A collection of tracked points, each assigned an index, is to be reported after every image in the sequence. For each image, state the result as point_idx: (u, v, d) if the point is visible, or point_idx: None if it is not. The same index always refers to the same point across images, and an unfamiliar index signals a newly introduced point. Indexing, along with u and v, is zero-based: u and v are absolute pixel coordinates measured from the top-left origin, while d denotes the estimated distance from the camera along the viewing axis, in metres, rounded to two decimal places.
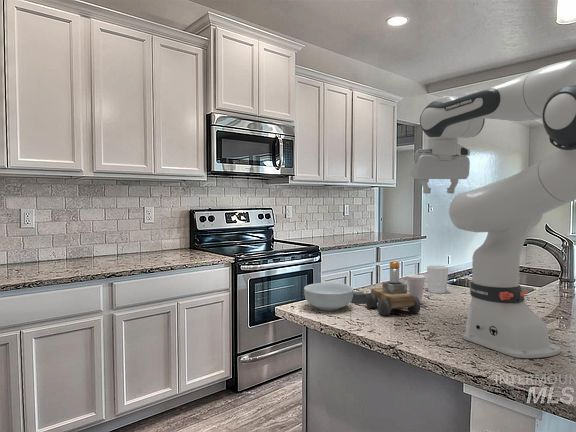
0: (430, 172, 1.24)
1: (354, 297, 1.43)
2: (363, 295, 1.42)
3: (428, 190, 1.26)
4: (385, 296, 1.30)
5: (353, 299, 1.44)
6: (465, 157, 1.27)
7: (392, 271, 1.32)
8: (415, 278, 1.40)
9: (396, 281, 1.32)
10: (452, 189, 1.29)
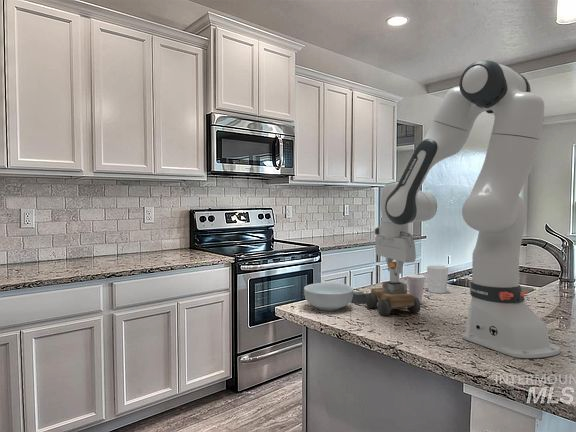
0: None
1: (354, 297, 1.43)
2: (363, 295, 1.42)
3: None
4: (385, 296, 1.30)
5: (353, 299, 1.44)
6: None
7: (392, 271, 1.32)
8: (415, 278, 1.40)
9: (396, 281, 1.32)
10: None
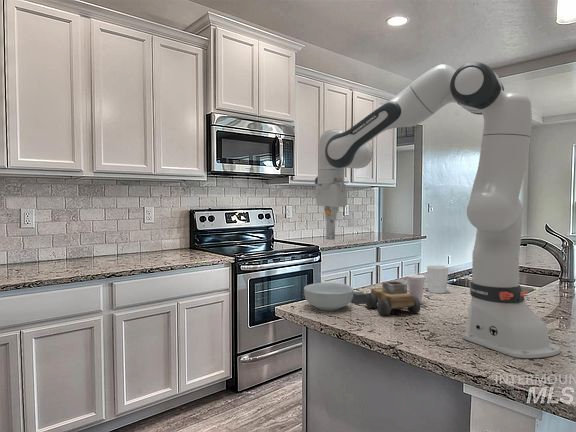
0: None
1: (354, 297, 1.43)
2: (363, 295, 1.42)
3: None
4: (385, 296, 1.30)
5: (353, 299, 1.44)
6: None
7: (328, 218, 1.35)
8: (415, 278, 1.40)
9: (332, 228, 1.35)
10: None
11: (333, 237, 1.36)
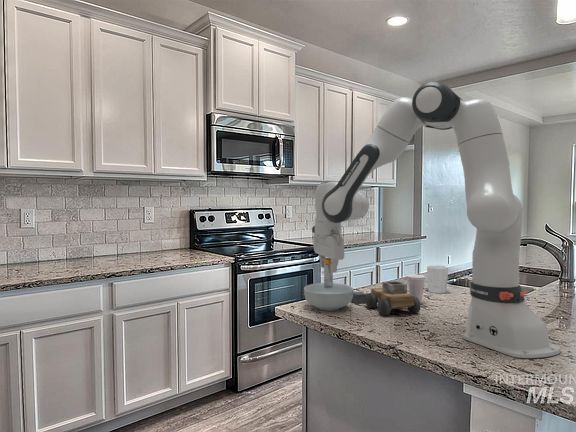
0: None
1: (354, 297, 1.43)
2: (363, 295, 1.42)
3: None
4: (385, 296, 1.30)
5: (353, 299, 1.44)
6: None
7: (325, 267, 1.36)
8: (415, 278, 1.40)
9: (329, 277, 1.36)
10: None
11: (331, 286, 1.36)
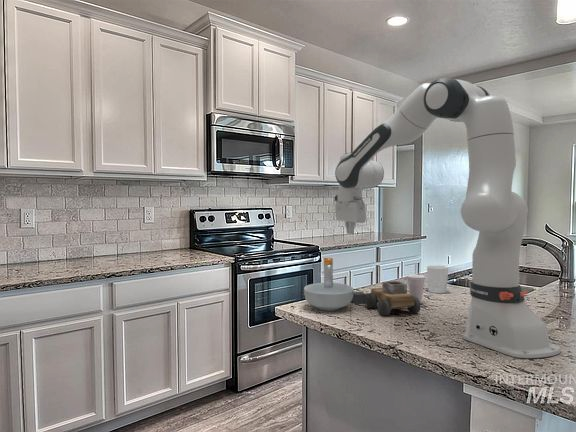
0: None
1: (354, 297, 1.43)
2: (363, 295, 1.42)
3: None
4: (385, 296, 1.30)
5: (353, 299, 1.44)
6: None
7: (325, 267, 1.36)
8: (415, 278, 1.40)
9: (329, 277, 1.36)
10: None
11: (331, 286, 1.36)
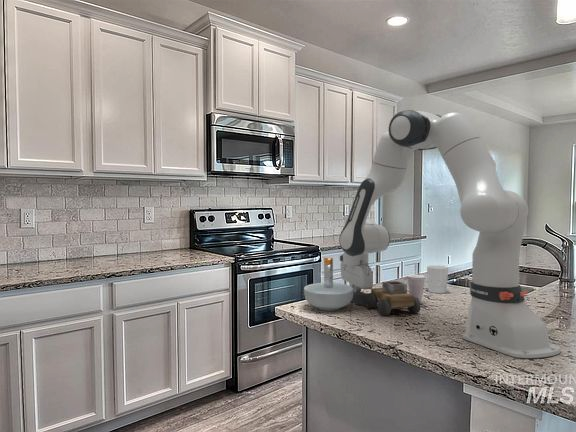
0: None
1: (355, 297, 1.42)
2: (364, 295, 1.42)
3: None
4: (385, 296, 1.30)
5: (354, 299, 1.43)
6: None
7: (325, 267, 1.36)
8: (415, 278, 1.40)
9: (329, 276, 1.36)
10: None
11: (331, 286, 1.36)
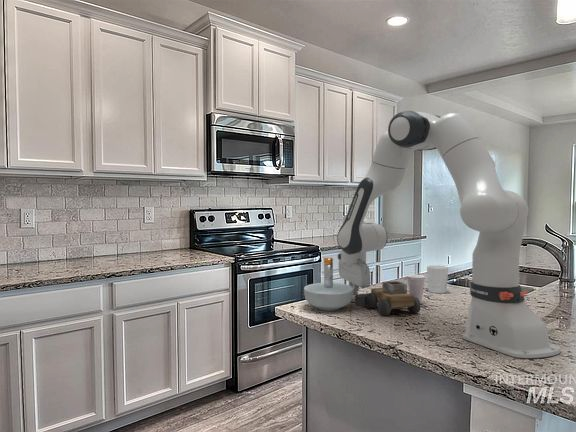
0: None
1: (358, 299, 1.40)
2: None
3: None
4: (385, 296, 1.30)
5: (356, 301, 1.41)
6: None
7: (325, 267, 1.36)
8: (415, 278, 1.40)
9: (329, 277, 1.36)
10: None
11: (331, 286, 1.36)
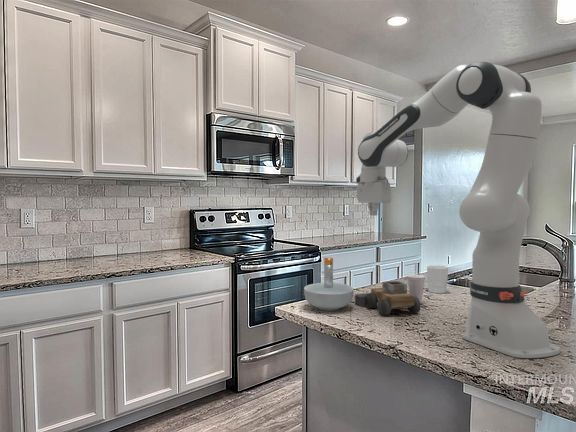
0: None
1: (358, 299, 1.40)
2: None
3: None
4: (385, 296, 1.30)
5: (356, 301, 1.41)
6: None
7: (326, 267, 1.36)
8: (415, 278, 1.40)
9: (329, 276, 1.36)
10: None
11: (331, 286, 1.36)
